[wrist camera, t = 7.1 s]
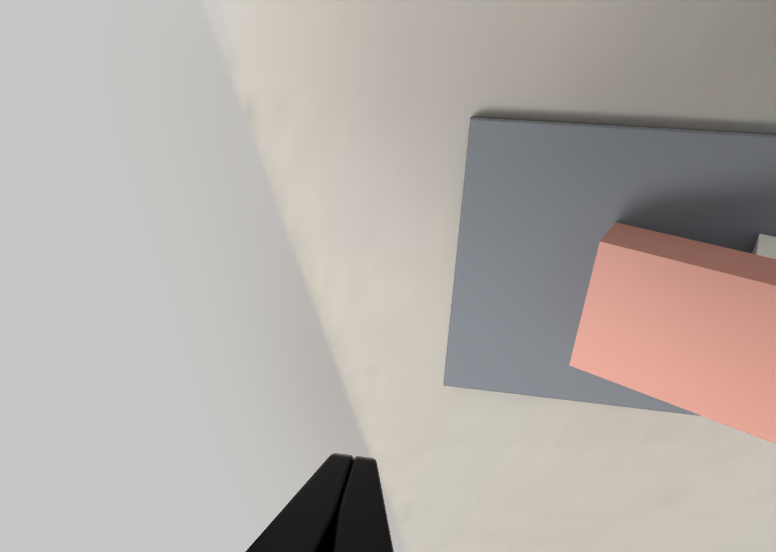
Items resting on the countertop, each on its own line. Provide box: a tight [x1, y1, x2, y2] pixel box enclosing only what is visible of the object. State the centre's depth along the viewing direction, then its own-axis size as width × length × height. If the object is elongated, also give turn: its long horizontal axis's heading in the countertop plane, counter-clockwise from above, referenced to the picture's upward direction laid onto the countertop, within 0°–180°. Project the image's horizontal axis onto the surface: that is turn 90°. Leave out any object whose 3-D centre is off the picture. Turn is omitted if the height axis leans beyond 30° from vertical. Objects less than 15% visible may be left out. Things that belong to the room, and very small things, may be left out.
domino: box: [569, 222, 776, 444], centre depth 14 cm, size 4×2×9 cm
